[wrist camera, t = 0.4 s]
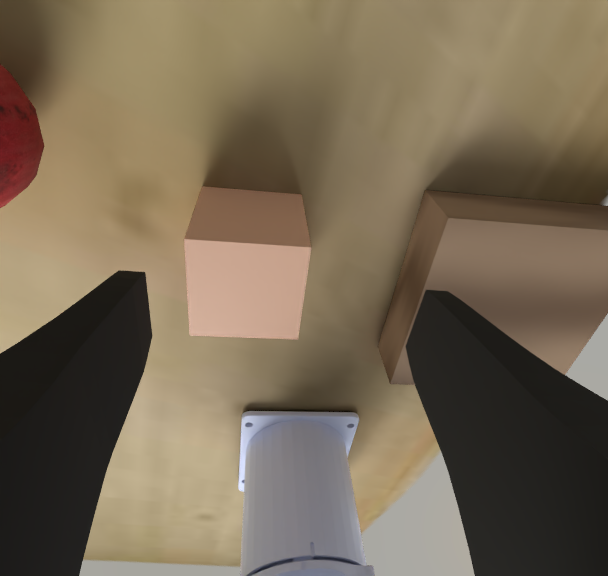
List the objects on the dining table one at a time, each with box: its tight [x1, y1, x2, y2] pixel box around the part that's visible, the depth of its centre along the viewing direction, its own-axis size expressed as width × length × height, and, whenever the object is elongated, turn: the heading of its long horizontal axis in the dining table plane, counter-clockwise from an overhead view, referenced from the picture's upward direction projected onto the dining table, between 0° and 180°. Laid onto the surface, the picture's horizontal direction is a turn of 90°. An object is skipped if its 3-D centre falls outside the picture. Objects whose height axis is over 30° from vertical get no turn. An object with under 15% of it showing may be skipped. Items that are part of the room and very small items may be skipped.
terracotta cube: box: [184, 186, 311, 339], centre depth 18 cm, size 4×4×5 cm
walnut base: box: [378, 190, 608, 385], centre depth 21 cm, size 10×10×3 cm
